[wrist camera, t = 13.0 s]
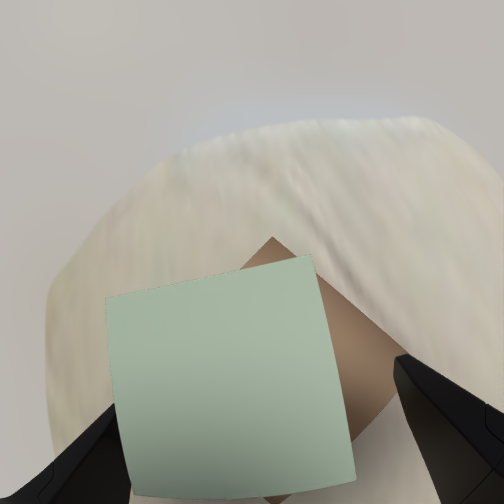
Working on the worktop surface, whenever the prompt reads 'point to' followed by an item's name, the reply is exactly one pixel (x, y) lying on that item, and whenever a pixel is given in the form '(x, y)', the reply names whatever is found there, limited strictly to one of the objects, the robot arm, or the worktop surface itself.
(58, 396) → the worktop surface
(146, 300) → the sage block
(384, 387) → the walnut base
